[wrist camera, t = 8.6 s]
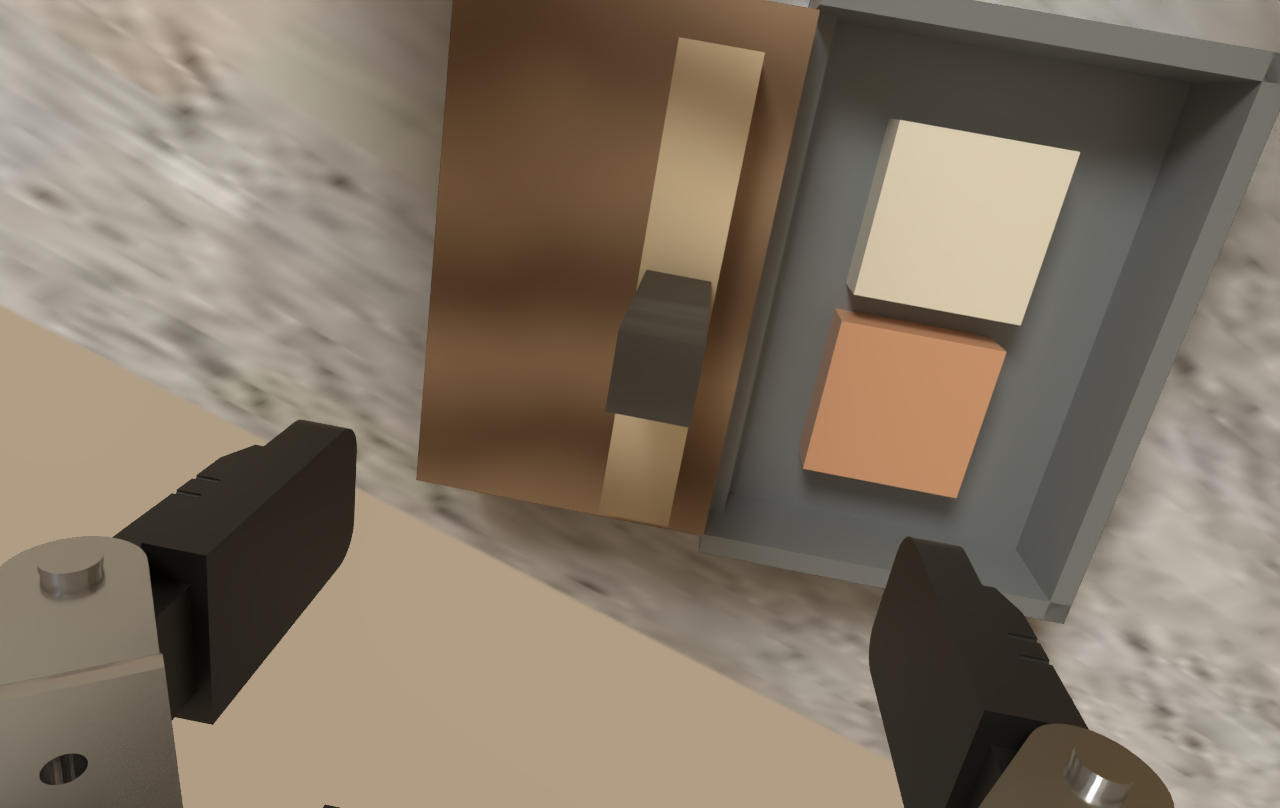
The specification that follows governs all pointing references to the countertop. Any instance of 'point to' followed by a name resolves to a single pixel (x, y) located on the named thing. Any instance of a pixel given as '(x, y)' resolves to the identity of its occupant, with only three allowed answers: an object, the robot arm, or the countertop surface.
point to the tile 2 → (959, 220)
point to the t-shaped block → (677, 276)
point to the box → (1035, 351)
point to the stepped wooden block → (580, 235)
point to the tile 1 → (899, 402)
